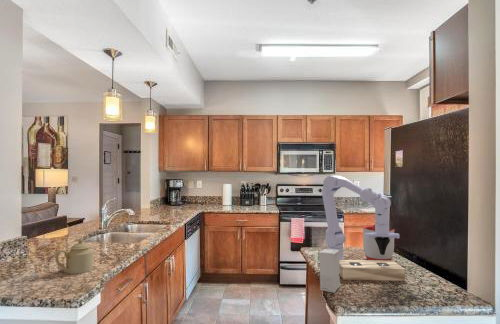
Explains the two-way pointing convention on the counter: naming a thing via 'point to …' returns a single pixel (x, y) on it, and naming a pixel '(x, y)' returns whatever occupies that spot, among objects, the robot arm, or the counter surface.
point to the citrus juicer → (372, 247)
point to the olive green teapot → (77, 258)
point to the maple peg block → (371, 270)
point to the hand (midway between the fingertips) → (382, 254)
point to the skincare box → (329, 270)
